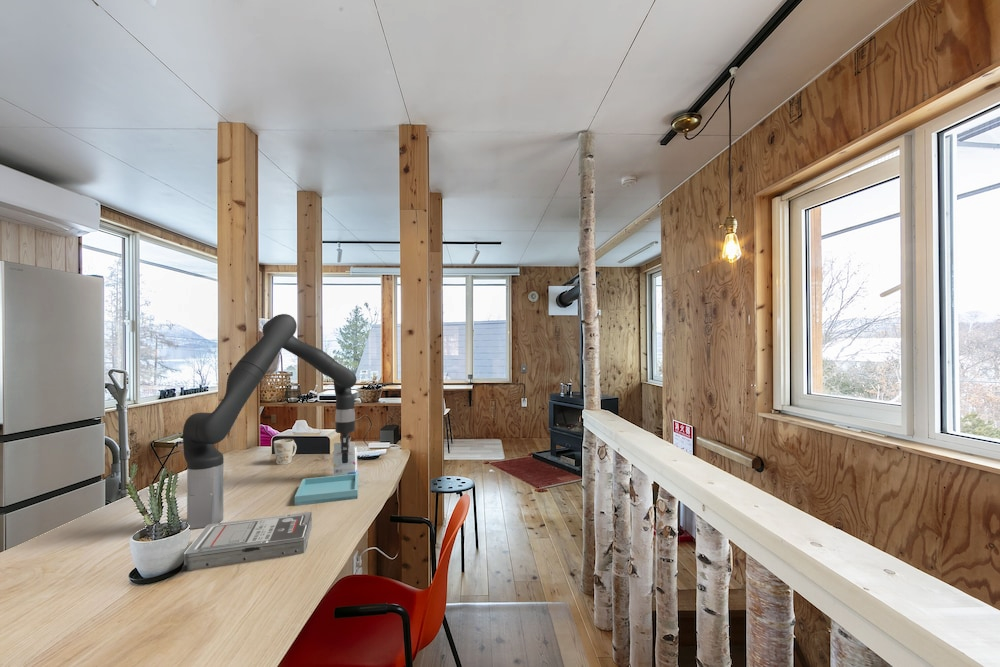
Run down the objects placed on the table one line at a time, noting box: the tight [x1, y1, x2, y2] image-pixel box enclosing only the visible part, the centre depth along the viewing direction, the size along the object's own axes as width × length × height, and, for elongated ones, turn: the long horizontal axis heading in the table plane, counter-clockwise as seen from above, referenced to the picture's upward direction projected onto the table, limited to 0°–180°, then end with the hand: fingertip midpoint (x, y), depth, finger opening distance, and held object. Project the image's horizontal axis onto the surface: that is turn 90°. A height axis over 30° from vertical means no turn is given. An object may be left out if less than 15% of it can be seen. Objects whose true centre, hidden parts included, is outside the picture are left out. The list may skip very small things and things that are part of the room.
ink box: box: [332, 441, 358, 476], centre depth 175 cm, size 8×5×15 cm, turn 99°
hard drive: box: [181, 511, 313, 572], centre depth 117 cm, size 18×27×4 cm
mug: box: [273, 438, 298, 465], centre depth 200 cm, size 8×13×10 cm, turn 171°
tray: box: [294, 473, 359, 506], centre depth 158 cm, size 20×20×3 cm
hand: (345, 460), depth 175 cm, fingers open, 8 cm apart
